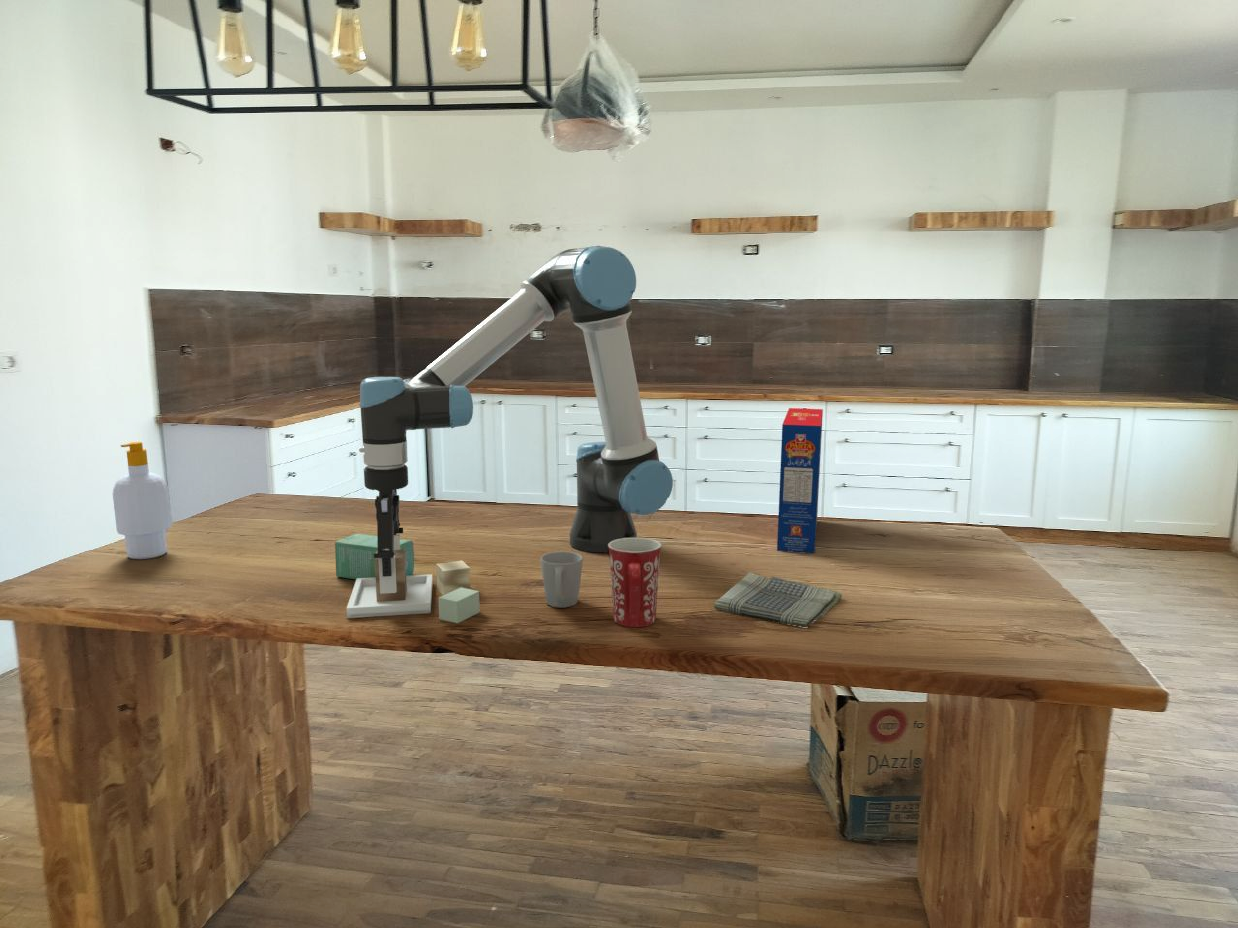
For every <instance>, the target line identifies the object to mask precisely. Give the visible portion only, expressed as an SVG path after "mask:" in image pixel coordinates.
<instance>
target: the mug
mask: <svg viewBox="0 0 1238 928" xmlns="http://www.w3.org/2000/svg"><path fill="white" fill-rule="evenodd" d="M662 547H663V546H662V544H661V542H660V541H658V540H655V539H651V538H645V537H637V538H622V539H617V540H614V541H611V542H610V543H609V544H608V548H609V552H608V553H609V564H610V565H609V568H610V580H611V581H610V582H611V584H610V585H611V597H612V616H613V621H614V623H616V624H618V625H619V626H623V627H627V628H640V627H648V626H650V625H653V624H654V622H656V617H657V616H656V615H657V603H658V602H657V600H658V591H659V589H658V588H659V587H658V586H659V585H658V584H659V575H660V574H659V573H660V572H659V571H660V558H661V557H660V556H661V549H662Z"/></svg>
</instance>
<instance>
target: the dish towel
mask: <svg viewBox="0 0 1238 928" xmlns="http://www.w3.org/2000/svg"><path fill="white" fill-rule="evenodd" d="M842 596H843V594H842V593H840V592H839V591H837V590H834V589H831V588H824V587H818V586H812V585H809V584H805V583H802V582H797V581H792V580H787V579H783V578H781V577H777V576H773V575H772V576H771V577H770V578H767V577H766V576H761V575H758V574H755V573H753V572H749V573H747V574H746V575H745V576H744V577H743V578H742V579H740V580H739V581H738V582H737V583H735V584H734V585H733V586H732V587H731V588H730V589H729V590H727V591H726V592H725V594H723V595H722V596H720V598H718V599H716V600H715V602H714V605H713V607H714V609H716V610H718V611H722V612H727V613H732V614H736V615H739V616H745V617H749V618H754V619H758V620H763V619H765V620H764V621H768V620H770V621H769V622H772V621H775V622H774V623H776V622H779V623H778V624H781V623H784V624H783V625H786V624H790V625H796V626H801V627H808V626H809V625H810V624H812V622H813V621H814V620H816V619H818V620H820V619H821V618H822V617H823V616H825V615H826V614H827V613H828V612H829V611H831V610H832V608H834V607H835V606H837V604H838V603H839V602H840V600H841V599H842ZM834 605H835V606H834ZM833 606H834V607H833ZM826 612H827V613H826ZM825 613H826V614H825ZM824 614H825V615H824ZM820 617H821V618H820ZM819 618H820V619H819ZM790 625H789V626H790ZM812 625H813V624H812ZM801 627H800V628H801Z"/></svg>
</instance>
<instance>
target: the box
mask: <svg viewBox="0 0 1238 928" xmlns="http://www.w3.org/2000/svg"><path fill="white" fill-rule="evenodd" d="M334 549H335V574H336V577H337V578H345V579H349V580H350V579H351V580H356V579H357V578H371V577H375V559H374V554H376V552H377V551H378V545H377V535H372V534H363V533H354V534H352V535H349V536H347V537H344V538H341V539H339V540H336V541H335V542H334ZM383 550H385V549H383ZM400 550H405V559H406V576H408V575H414V572H415V571H414V570H415V551H414V550H415V548H414V542H413V540H412V539H403V538H400Z"/></svg>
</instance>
